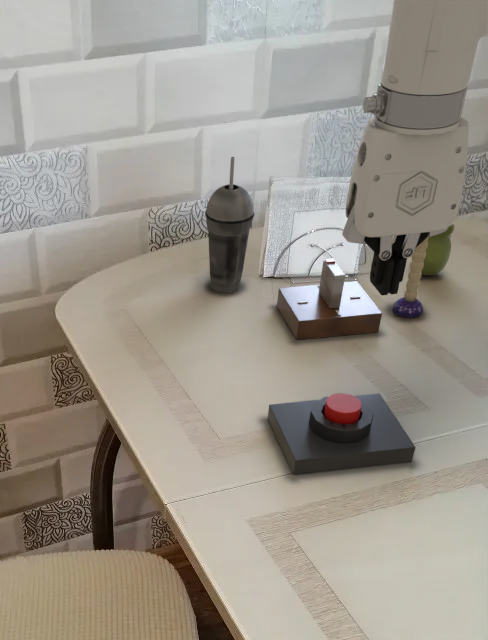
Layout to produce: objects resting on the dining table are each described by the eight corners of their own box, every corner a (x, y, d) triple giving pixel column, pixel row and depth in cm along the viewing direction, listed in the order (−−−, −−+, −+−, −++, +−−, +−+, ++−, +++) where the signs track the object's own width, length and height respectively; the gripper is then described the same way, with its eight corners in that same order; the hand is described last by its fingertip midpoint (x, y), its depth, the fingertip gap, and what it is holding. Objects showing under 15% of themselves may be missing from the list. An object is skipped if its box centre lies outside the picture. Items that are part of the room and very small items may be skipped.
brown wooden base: (353, 299, 121) (357, 279, 118) (378, 332, 113) (382, 312, 111) (276, 306, 120) (278, 287, 118) (296, 340, 112) (298, 320, 110)
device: (376, 407, 100) (382, 380, 97) (412, 462, 91) (419, 434, 89) (267, 418, 99) (270, 392, 96) (293, 475, 90) (297, 447, 88)
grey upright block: (339, 307, 113) (345, 273, 109) (329, 308, 112) (335, 274, 109) (328, 291, 116) (333, 257, 113) (318, 292, 116) (323, 258, 113)
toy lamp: (412, 322, 115) (439, 208, 104) (382, 312, 117) (406, 200, 106) (427, 309, 117) (455, 197, 106) (398, 300, 120) (422, 189, 109)
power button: (352, 403, 94) (354, 391, 93) (364, 423, 91) (366, 411, 90) (319, 407, 94) (321, 394, 93) (330, 427, 91) (332, 414, 90)
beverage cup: (249, 276, 127) (260, 146, 114) (247, 297, 122) (258, 164, 109) (204, 274, 128) (209, 145, 115) (199, 295, 123) (205, 162, 110)
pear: (443, 266, 127) (459, 205, 121) (445, 282, 124) (462, 219, 117) (407, 264, 128) (420, 203, 122) (408, 279, 125) (422, 216, 118)
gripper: (354, 126, 70) (327, 313, 82) (518, 110, 71) (467, 298, 83) (326, 101, 75) (305, 280, 87) (478, 86, 76) (436, 266, 88)
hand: (384, 288), depth 85 cm, fingers closed
